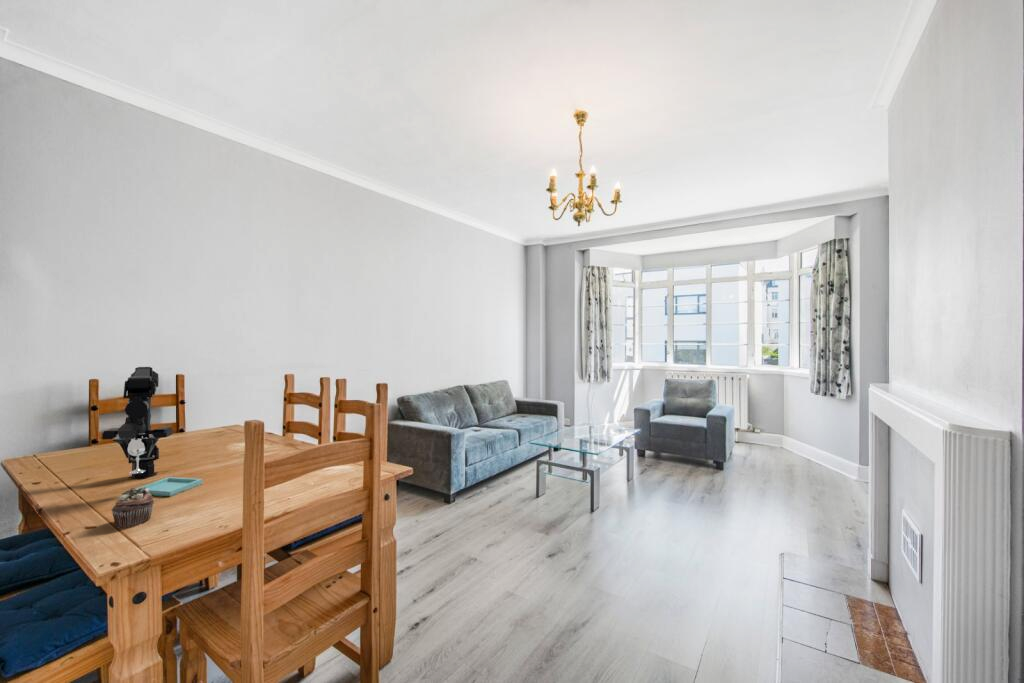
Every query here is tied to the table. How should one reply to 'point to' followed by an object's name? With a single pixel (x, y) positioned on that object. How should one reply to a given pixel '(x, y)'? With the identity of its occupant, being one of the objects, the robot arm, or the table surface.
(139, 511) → the cupcake
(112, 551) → the table surface
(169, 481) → the tray
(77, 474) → the table surface
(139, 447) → the wineglass
